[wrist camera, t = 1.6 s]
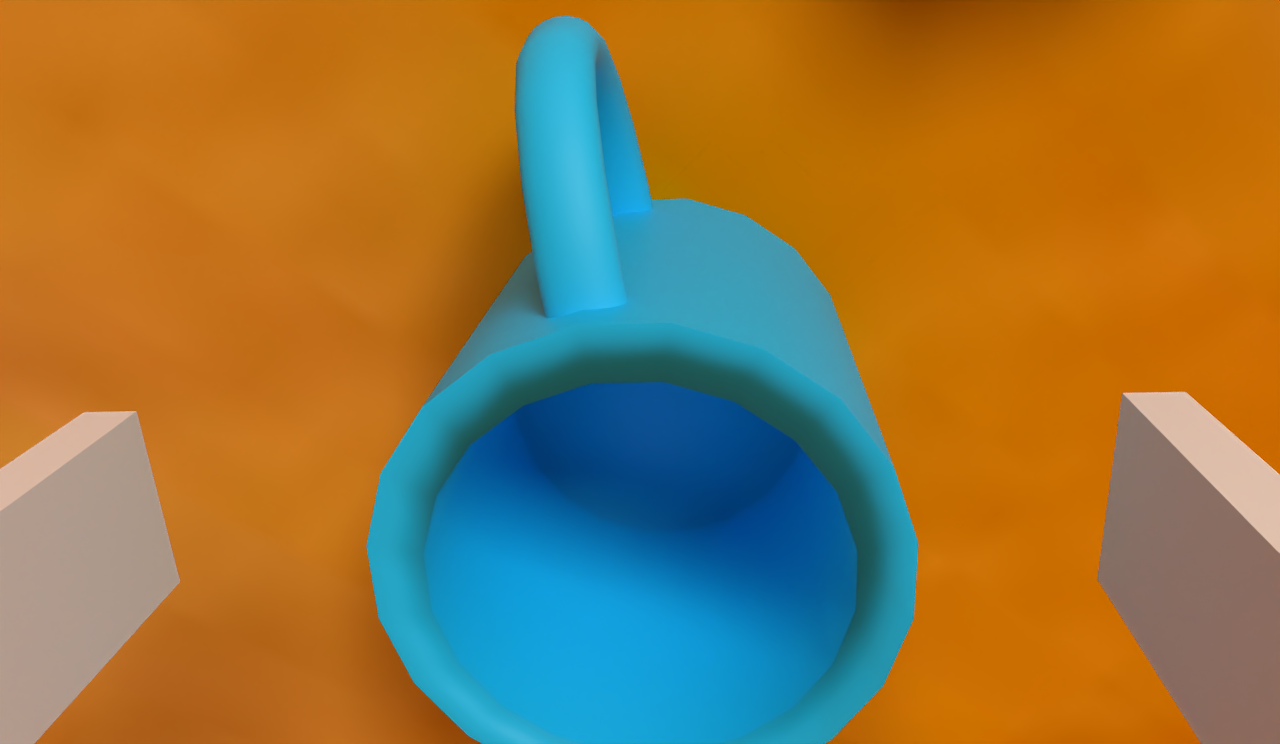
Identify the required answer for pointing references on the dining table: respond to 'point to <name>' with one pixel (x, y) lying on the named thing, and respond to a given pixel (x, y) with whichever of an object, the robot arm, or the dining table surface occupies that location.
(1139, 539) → the robot arm
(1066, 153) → the dining table surface
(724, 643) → the mug
